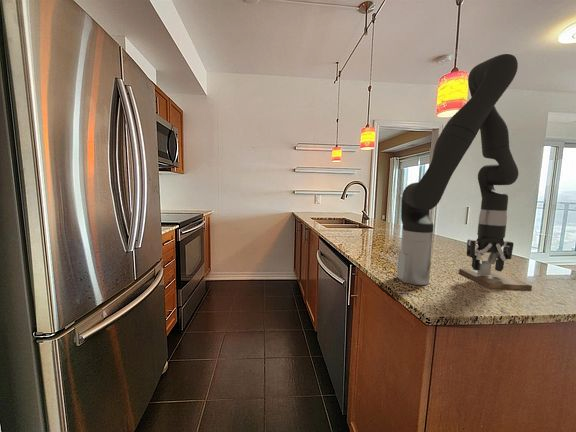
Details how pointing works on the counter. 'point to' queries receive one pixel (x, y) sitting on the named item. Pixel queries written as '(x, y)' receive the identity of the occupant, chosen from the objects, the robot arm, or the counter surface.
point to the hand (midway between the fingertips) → (487, 270)
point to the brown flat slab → (496, 280)
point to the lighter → (487, 265)
